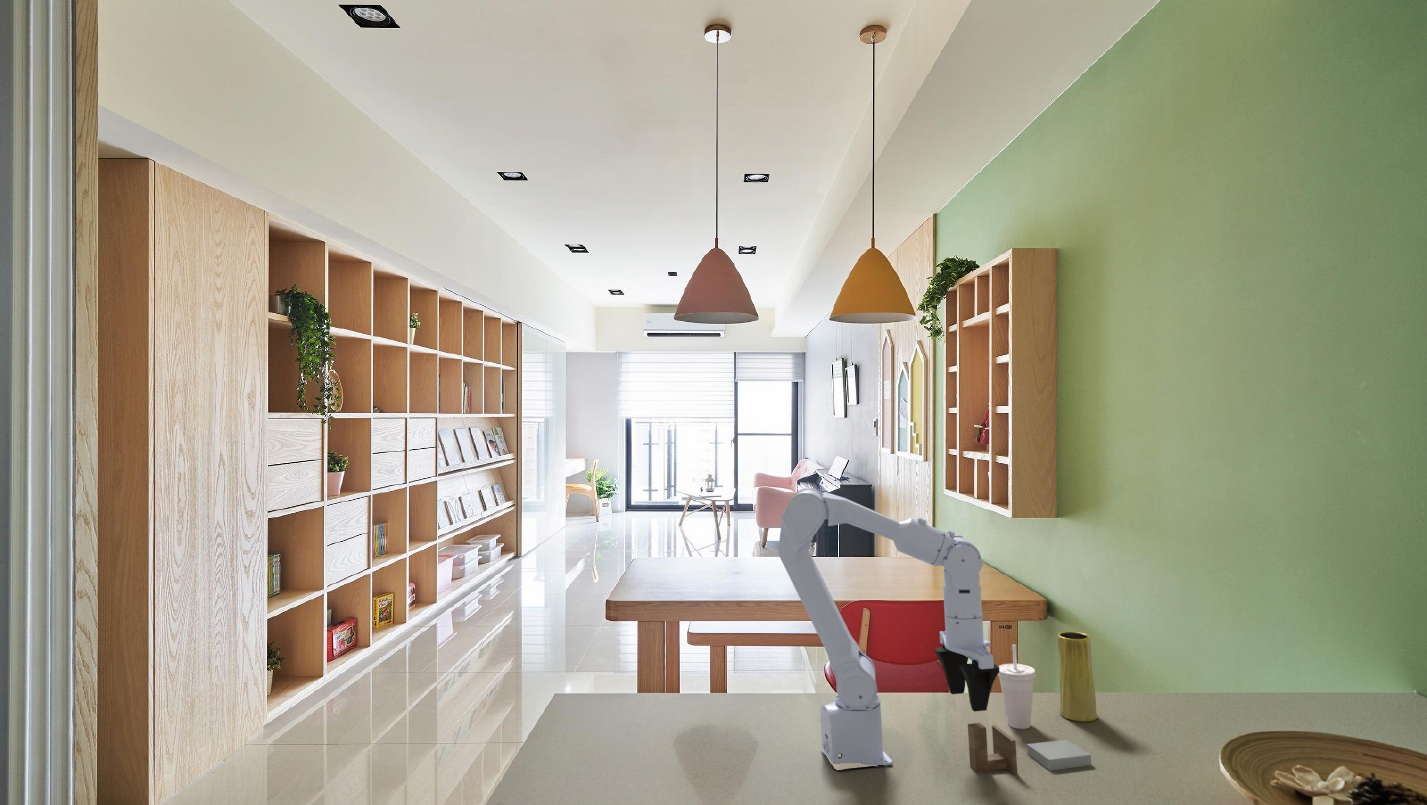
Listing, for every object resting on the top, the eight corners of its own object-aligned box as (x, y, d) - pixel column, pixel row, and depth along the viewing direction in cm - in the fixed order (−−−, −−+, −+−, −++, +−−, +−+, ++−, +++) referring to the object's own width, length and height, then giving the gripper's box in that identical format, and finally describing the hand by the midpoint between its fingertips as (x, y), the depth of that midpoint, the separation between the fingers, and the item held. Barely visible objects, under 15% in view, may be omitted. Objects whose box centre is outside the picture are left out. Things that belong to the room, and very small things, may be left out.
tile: (1049, 759, 116) (1090, 754, 117) (1026, 744, 122) (1066, 739, 123) (1050, 772, 116) (1091, 767, 117) (1027, 756, 122) (1067, 751, 123)
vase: (1062, 721, 134) (1057, 639, 134) (1057, 708, 140) (1052, 630, 140) (1100, 723, 132) (1095, 640, 133) (1094, 710, 138) (1089, 631, 139)
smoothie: (997, 728, 132) (992, 647, 132) (1002, 715, 138) (997, 637, 138) (1037, 734, 129) (1032, 650, 129) (1040, 720, 135) (1035, 640, 135)
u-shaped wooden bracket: (982, 777, 114) (980, 733, 114) (964, 760, 120) (961, 719, 120) (1017, 773, 115) (1014, 730, 115) (997, 757, 121) (994, 715, 121)
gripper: (1010, 624, 114) (1015, 715, 114) (966, 602, 128) (970, 684, 128) (966, 627, 113) (970, 720, 113) (926, 605, 127) (930, 687, 127)
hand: (967, 701), depth 120 cm, fingers open, 7 cm apart
